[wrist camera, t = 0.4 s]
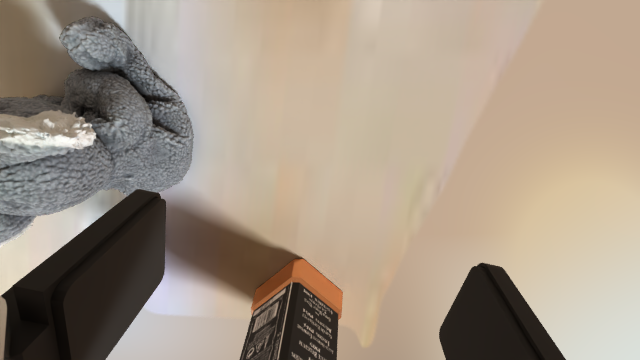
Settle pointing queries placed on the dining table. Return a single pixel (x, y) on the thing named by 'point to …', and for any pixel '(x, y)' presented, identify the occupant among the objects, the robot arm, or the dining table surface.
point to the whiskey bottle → (294, 316)
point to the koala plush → (90, 132)
